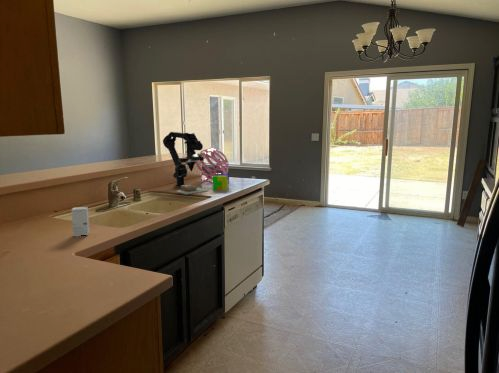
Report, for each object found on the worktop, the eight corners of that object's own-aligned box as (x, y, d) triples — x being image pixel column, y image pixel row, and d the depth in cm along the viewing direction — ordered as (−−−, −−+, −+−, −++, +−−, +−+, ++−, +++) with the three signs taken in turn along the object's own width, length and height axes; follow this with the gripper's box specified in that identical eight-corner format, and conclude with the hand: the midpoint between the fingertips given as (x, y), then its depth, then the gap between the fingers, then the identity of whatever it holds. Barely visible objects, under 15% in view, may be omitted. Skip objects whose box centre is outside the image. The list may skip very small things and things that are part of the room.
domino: (180, 185, 256) (187, 187, 248) (189, 184, 260) (196, 186, 252) (180, 189, 256) (187, 191, 248) (189, 188, 260) (196, 190, 252)
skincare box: (73, 237, 155) (70, 209, 153) (75, 233, 160) (72, 207, 158) (88, 235, 157) (85, 208, 155) (90, 232, 161) (88, 206, 159)
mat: (175, 191, 253) (175, 190, 252) (198, 188, 263) (198, 187, 263) (185, 194, 242) (185, 193, 242) (208, 191, 252) (208, 190, 252)
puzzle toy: (229, 187, 264) (228, 174, 262) (227, 190, 254) (226, 176, 252) (215, 187, 265) (215, 174, 263) (213, 190, 255) (212, 176, 253)
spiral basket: (199, 160, 265) (220, 138, 279) (180, 166, 286) (200, 145, 300) (222, 188, 275) (241, 165, 290) (202, 192, 296) (220, 170, 311)
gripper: (184, 151, 252) (185, 173, 255) (207, 149, 263) (208, 171, 266) (176, 150, 260) (178, 171, 263) (199, 148, 272) (200, 169, 274)
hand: (191, 171), depth 266 cm, fingers closed
